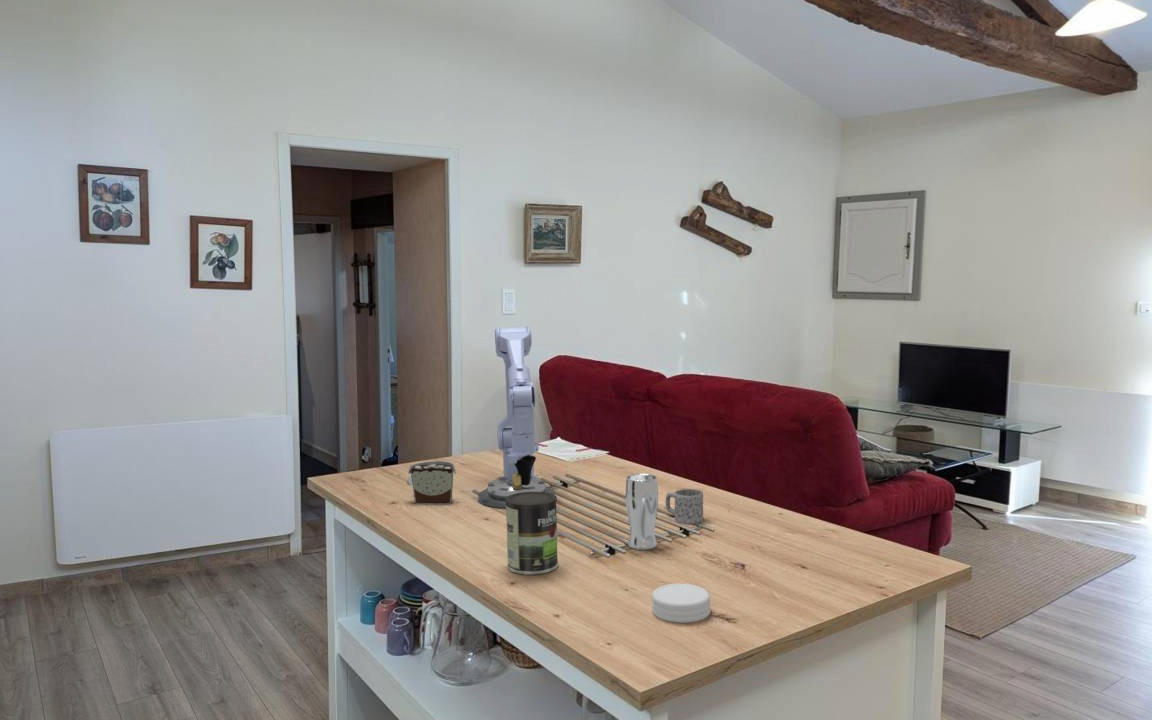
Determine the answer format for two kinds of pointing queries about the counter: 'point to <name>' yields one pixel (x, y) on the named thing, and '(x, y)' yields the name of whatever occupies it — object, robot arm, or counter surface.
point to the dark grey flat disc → (497, 503)
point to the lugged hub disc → (513, 486)
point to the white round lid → (681, 603)
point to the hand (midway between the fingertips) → (524, 484)
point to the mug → (686, 506)
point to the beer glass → (642, 510)
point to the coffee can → (531, 532)
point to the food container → (432, 482)
